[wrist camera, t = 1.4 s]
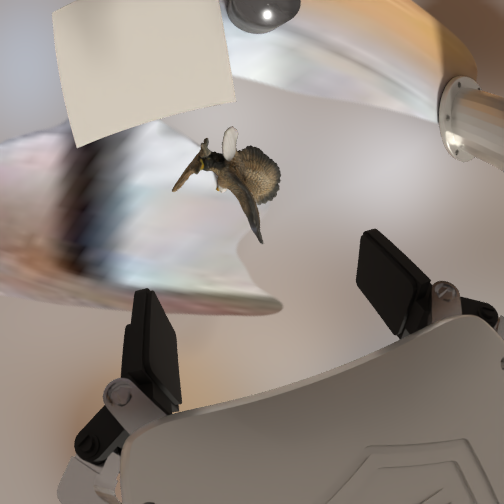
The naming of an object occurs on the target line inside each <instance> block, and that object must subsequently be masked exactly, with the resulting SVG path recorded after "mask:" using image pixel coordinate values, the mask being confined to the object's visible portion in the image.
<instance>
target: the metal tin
mask: <svg viewBox="0 0 504 504" xmlns="http://www.w3.org/2000/svg"><path fill="white" fill-rule="evenodd" d="M300 3H301V1H300V0H229V3H228V6H227V14H228V17H229V19H230V20H231V22H232V23H233V24H234V25H235V26H236V27H237V28H239V29H241V30H243V31H245V32H248V33H253V34H263V33H267V32H270V31H272V30H274V29H276V28H277V27H279V26H281V25H282V24H284V23H286V22H287V21H289V20H291V19H292V18H293V17H294V16H295V15H296V14H297V13H298V11H299V9H300Z"/></svg>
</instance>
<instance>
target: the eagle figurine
mask: <svg viewBox="0 0 504 504" xmlns="http://www.w3.org/2000/svg"><path fill="white" fill-rule="evenodd" d="M237 137H238V131H237V129H235V128H234V127H233V126H232V127H230V128H228V129H227V130H226V131H225V133H224V137H223V142H222V152H223V154H220V153H216V152H211V151H210V150H209V149H208V148H207V146H208V143H209V141H208V138H206V139H204V143H201V150H200V152H199V153H198V154H197V155H196V156H195V158H194V159H193V161H192V162H191V163H190V164H189V165H188V167H187V168H186V169H185V171H184V172H183V174H182V175H181V177H180V178H179V180H178V181H177V183H176V184H175V186H174V187H173V189H172V192H176V191H177V190H178V189H179V188H181V186H182V185H183V184H184V183H185V181H186V180H187V179H188V178H189V176H190V175H191V174H193V173H195V174H198V173H199V171H200V170H205V171H213V172H214V173H216V174H217V175H218V180H217V182H218V188H217V189H216V190H217V191H221V193H223V192H225V191H226V190H227V189H229V190H230V191H231V192H232V193H233V194H234V195H235V196H236V198H237V199H238V201H239V202H240V205H241V207H242V209H243V211H244V213H245V214H246V216H247V218H248V221H249V224H250V226H251V229H252V230H253V232H254V233H255V235H256V236H257V238H258V240H259V242H260V243H262V244H263V240H262V236H261V233H260V218H259V212H258V208H257V204H258V205H261V203H266V202H267V201H272V199H273V197H276V195H277V191H278V190H279V185H278V183H280V176H281V174H280V170H279V167H278V166H277V163H275V162H274V161H273V160H272V159H269V157H268V156H267V155H265V154H264V153H263V152H262V151H261V150H260V149H259V148H256V147H252V146H247V147H246V149H242V151H240V150H239V151H237V149H236V141H237ZM251 192H252V193H251ZM252 194H253V195H252ZM253 196H254V197H253ZM255 201H256V202H255ZM256 203H257V204H256Z"/></svg>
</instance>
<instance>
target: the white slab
mask: <svg viewBox="0 0 504 504" xmlns="http://www.w3.org/2000/svg"><path fill="white" fill-rule="evenodd" d="M52 18H53V31H54V40H55V49H56V57H57V63H58V69H59V75H60V80H61V85H62V90H63V95H64V100H65V104H66V108H67V113H68V117H69V121H70V125H71V128H72V132H73V136H74V139H75V143H76V146H77V148H78V147H81V146H83V145H86V144H88V143H90V142H93V141H95V140H98V139H101V138H103V137H106V136H108V135H111V134H114V133H117V132H120V131H122V130H125V129H128V128H131V127H134V126H137V125H141V124H144V123H147V122H150V121H154V120H157V119H161V118H164V117H168V116H171V115H175V114H179V113H183V112H187V111H191V110H196V109H200V108H205V107H210V106H215V105H220V104H225V103H231V102H236V97H235V91H234V86H233V79H232V74H231V68H230V62H229V56H228V50H227V44H226V39H225V33H224V27H223V22H222V16H221V10H220V5H219V0H77V1H75V2H73V3H70V4H69V5H66V6H64V7H62V8H60V9H59V10H57V11H55V12H53V13H52Z"/></svg>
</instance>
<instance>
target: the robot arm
mask: <svg viewBox="0 0 504 504" xmlns="http://www.w3.org/2000/svg"><path fill="white" fill-rule="evenodd" d="M439 127H440V133H441V137H442V141H443V144H444V146H445V148H446V150H447V151H448V153H449V154H450V155H451V156H452V157H453V158H455V159H457V160H459V161H462V162H468V161H470V160H472V159H473V158H475V157H476V158H479V159H481V160H483V161H485V162H486V163H488V164H490V165H492V166H494V167H496V168H498V169H500V170H501V171H503V172H504V97H501V96H498V95H495V94H491V93H488V92H484V91H482V89H481V88H480V86H479V85H478V83H477V82H476V81H475V80H473V79H472V78H470V77H466V76H456V77H454V78H453V79H451V80H450V81H449V83H448V84H447V85H446V87H445V89H444V91H443V94H442V98H441V101H440V108H439ZM430 281H431V280H430V279H429V278H428V277H427V276H426V275H425V274H424V273H423V272H422V271H421V270H420V269H419V268H418V267H417V266H416V265H415V264H414V263H413V262H412V261H411V260H410V259H409V258H408V257H407V256H406V255H405V254H404V253H402V251H400V250H399V249H398V248H397V247H396V246H395V245H394V244H393V243H392V242H391V241H390V240H388V239H387V238H386V237H385V236H384V235H383V234H382V233H380V232H379V231H378V230H377V229H371V230H368V231H365V232H364V233H363V235H362V236H361V239H360V249H359V259H358V268H357V275H356V283H357V286H358V287H359V289H360V290H361V291H362V293H363V294H364V295H365V296H366V298H367V299H368V300H369V302H370V303H371V304H372V306H373V307H374V308H375V310H376V311H377V312H378V314H379V315H380V316H381V318H382V319H383V320H384V322H385V323H386V325H387V326H388V327H389V329H390V330H391V332H392V333H393V334H394V335H397V336H398V337H399V339H400V340H399V341H397V342H394V343H392V344H390V345H388V346H386V347H384V348H382V349H380V350H377V351H375V352H373V353H371V354H368V355H366V356H364V357H361V358H359V359H357V360H354V361H352V362H349V363H347V364H344V365H342V366H339V367H337V368H334V369H332V370H329V371H326V372H324V373H321V374H318V375H316V376H313V377H310V378H307V379H304V380H301V381H298V382H295V383H292V384H289V385H285V386H282V387H279V388H276V389H272V390H269V391H265V392H262V393H258V394H255V395H251V396H247V397H243V398H240V399H235V400H231V401H228V402H223V403H219V404H215V405H210V406H205V407H201V408H196V409H192V410H187V411H183V412H179V413H175V414H172V412H177V411H179V406H178V404H182V397H181V388H180V378H179V366H178V354H177V339H176V334H175V331H174V329H173V327H172V325H171V323H170V322H169V320H168V318H167V316H166V314H165V312H164V310H163V308H162V306H161V304H160V302H159V300H158V298H157V296H156V294H155V292H154V291H150V290H149V289H148V288H146V289H142V290H138V291H135V294H134V302H133V309H132V318H131V324H128V325H127V326H126V328H125V335H124V344H123V355H122V368H121V378H118V379H115V380H113V381H112V382H110V383H109V384H108V385H107V386H106V388H105V390H104V394H103V401H104V404H105V405H104V407H103V408H102V409H101V410H100V411H99V412H98V413H97V414H96V415H95V416H94V417H93V418H92V419H91V420H90V422H89V423H88V424H87V425H86V426H85V427H84V428H83V429H82V430H81V431H80V432H79V433H78V435H77V436H76V439H75V445H74V447H75V451H76V455H75V457H73V456H72V457H71V459H70V461H69V463H68V465H67V468H66V470H65V472H64V474H63V477H62V479H61V481H60V483H59V486H58V489H57V496H58V499H59V501H60V502H61V503H62V504H122V503H123V504H504V317H503V316H500V318H499V317H498V313H497V311H496V310H495V308H493V306H491V305H490V304H488V303H484V302H480V301H476V300H472V299H468V298H464V297H460V293H459V291H458V289H457V288H456V287H455V286H454V285H453V284H451V283H449V282H446V281H438V282H436V283H434V284H433V285H432V284H431V283H430ZM119 473H120V485H121V495H122V503H121V502H120V501H118V499H117V497H116V495H115V487H116V484H117V482H118V481H117V480H116V478H117V476H118V474H119Z"/></svg>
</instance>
